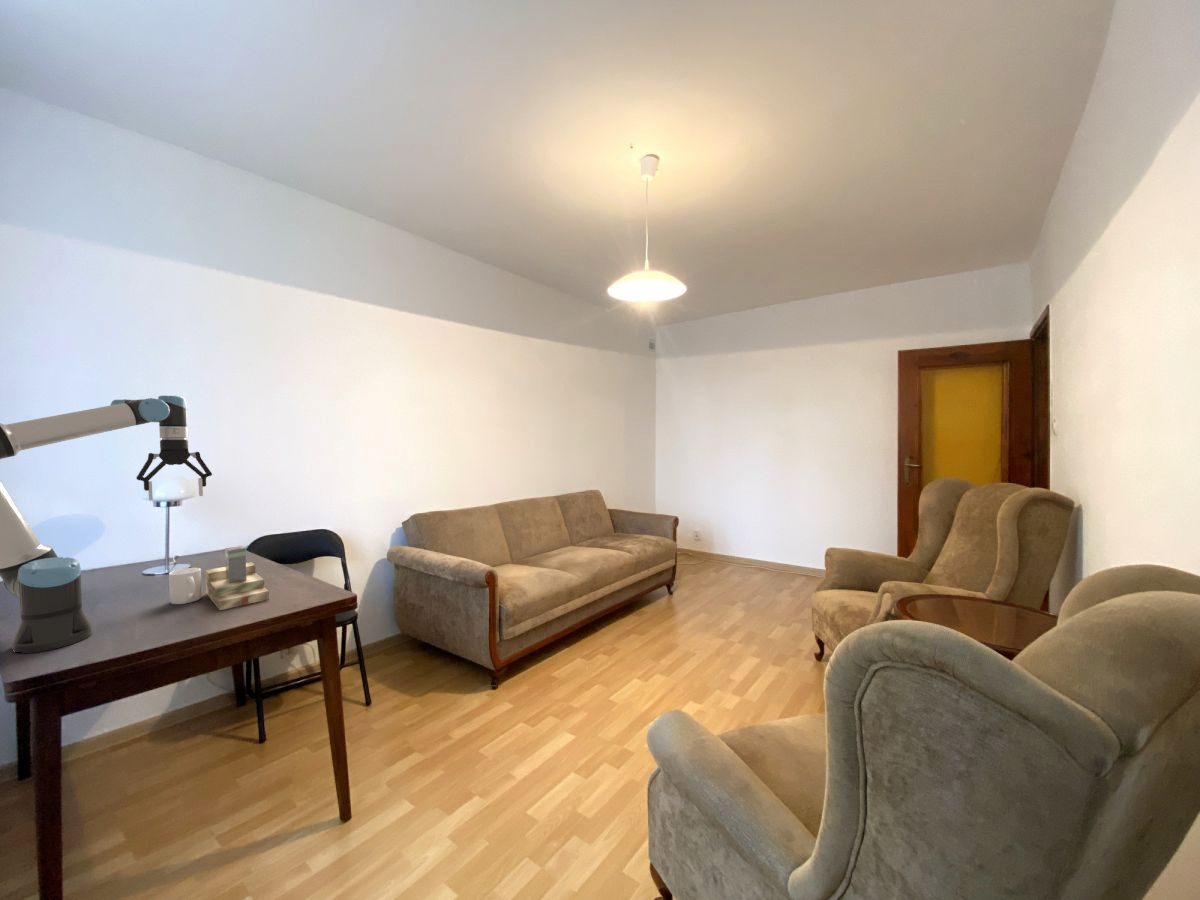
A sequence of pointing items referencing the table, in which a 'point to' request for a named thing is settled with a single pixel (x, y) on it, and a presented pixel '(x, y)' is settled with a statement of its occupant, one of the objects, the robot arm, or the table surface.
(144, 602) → the table surface
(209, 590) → the stepped stand
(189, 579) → the mug
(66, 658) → the table surface
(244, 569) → the column
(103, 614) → the table surface
